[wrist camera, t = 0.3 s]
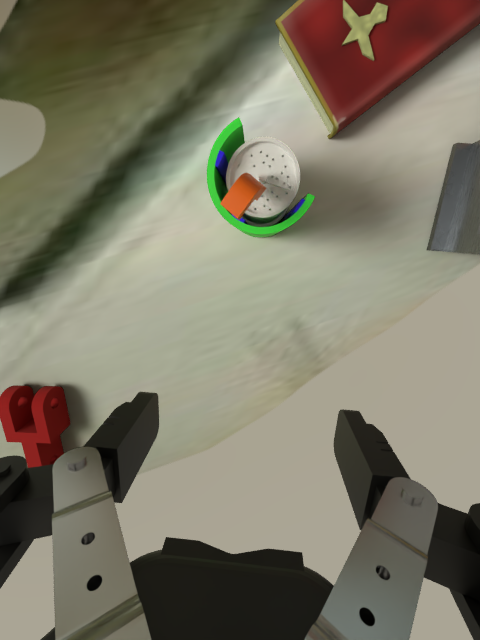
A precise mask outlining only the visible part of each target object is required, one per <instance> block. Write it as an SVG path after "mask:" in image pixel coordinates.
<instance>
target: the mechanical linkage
mask: <svg viewBox="0 0 480 640" xmlns="http://www.w3.org/2000/svg"><path fill="white" fill-rule="evenodd" d="M0 419H1V422H2V426H3V429H4V433H5V436H6V440H7V442H22V446H23V450H24V454H25V457H26V461H27V465H28V468H31V467H38V466H45V465H51V464H54V463H55V461H56V460H57V459H58V458H59V457H60V456H61V455H63V454H64V452H63V447H62V443H61V438H60V434H61V433H62V432H63V431H64V430H65V429H66V428H67V427H68V426H69V425H70V424H71V423H70V418H69V414H68V409H67V404H66V399H65V394H64V390H63V388H61V387H58V386H45V387H42V388H41V389H39V390H38V391H37V393H36V394H35V396H34V393H33V389H32V388H31V387H29V386H11V387H9V388H7V389H6V390H5V391H4V392H3V393H2V394H1V396H0Z"/></svg>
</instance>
